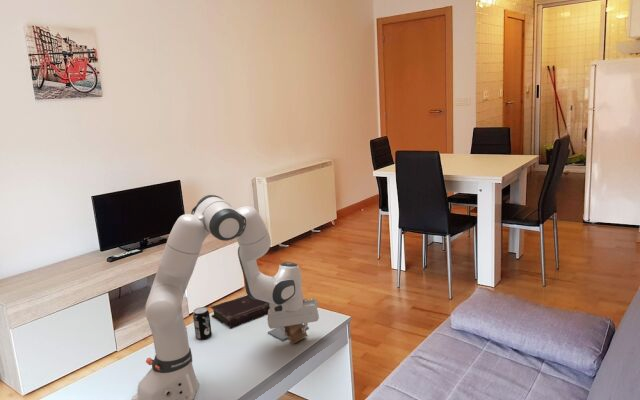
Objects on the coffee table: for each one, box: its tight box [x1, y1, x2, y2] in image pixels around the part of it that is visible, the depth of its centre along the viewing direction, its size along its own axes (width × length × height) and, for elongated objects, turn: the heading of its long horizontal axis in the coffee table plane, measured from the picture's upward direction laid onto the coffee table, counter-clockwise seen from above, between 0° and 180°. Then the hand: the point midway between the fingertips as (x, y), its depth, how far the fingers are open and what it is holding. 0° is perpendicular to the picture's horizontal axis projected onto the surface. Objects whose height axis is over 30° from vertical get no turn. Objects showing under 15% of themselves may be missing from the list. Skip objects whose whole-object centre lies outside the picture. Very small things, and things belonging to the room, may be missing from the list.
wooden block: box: [284, 323, 308, 345], centre depth 205 cm, size 3×7×8 cm, turn 138°
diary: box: [210, 294, 270, 330], centre depth 233 cm, size 19×25×5 cm
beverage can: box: [192, 306, 213, 341], centre depth 213 cm, size 7×7×12 cm
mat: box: [267, 324, 310, 342], centre depth 214 cm, size 14×10×1 cm
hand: (294, 334), depth 203 cm, fingers open, 6 cm apart
